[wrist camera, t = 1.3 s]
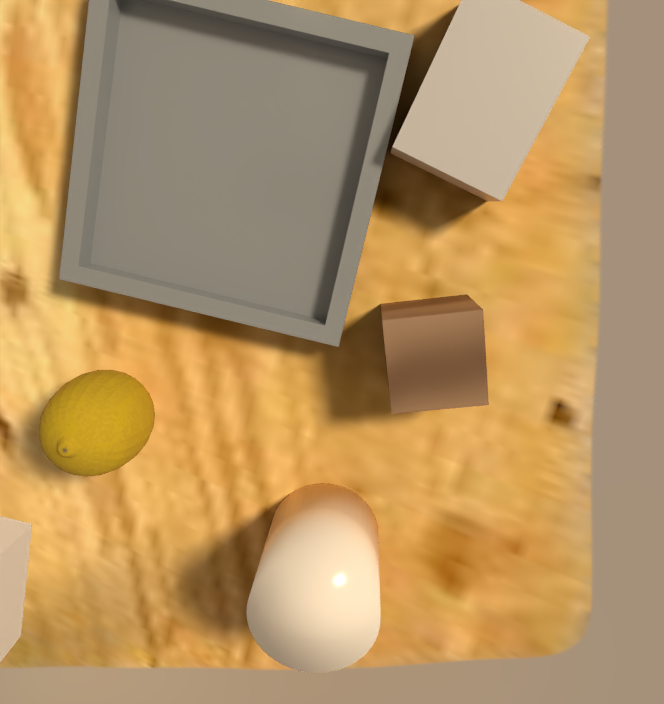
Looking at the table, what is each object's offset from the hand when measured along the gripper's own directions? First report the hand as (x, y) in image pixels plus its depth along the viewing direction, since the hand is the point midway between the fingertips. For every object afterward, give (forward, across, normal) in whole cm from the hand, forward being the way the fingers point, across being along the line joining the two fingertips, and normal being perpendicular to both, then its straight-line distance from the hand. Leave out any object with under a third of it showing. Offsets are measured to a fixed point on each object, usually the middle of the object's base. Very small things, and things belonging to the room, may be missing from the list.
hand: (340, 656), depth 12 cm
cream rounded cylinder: (+24, +1, -13) cm, 27 cm away
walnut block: (+24, +4, +1) cm, 24 cm away
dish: (+24, -9, +8) cm, 27 cm away
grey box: (+24, +3, +14) cm, 28 cm away
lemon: (+24, -13, -7) cm, 28 cm away
